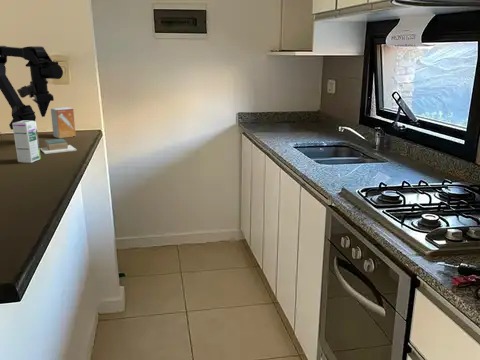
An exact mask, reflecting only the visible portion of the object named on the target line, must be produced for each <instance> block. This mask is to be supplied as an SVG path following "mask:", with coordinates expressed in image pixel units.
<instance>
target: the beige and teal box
mask: <svg viewBox="0 0 480 360" xmlns="http://www.w3.org/2000/svg"><path fill="white" fill-rule="evenodd" d="M44 144H45V145H44V147H46V148H47V149H48V150H59V149H68V145H69V144H68V141H66V139H64V138H55V139H54V138H53V139H44Z"/></svg>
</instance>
